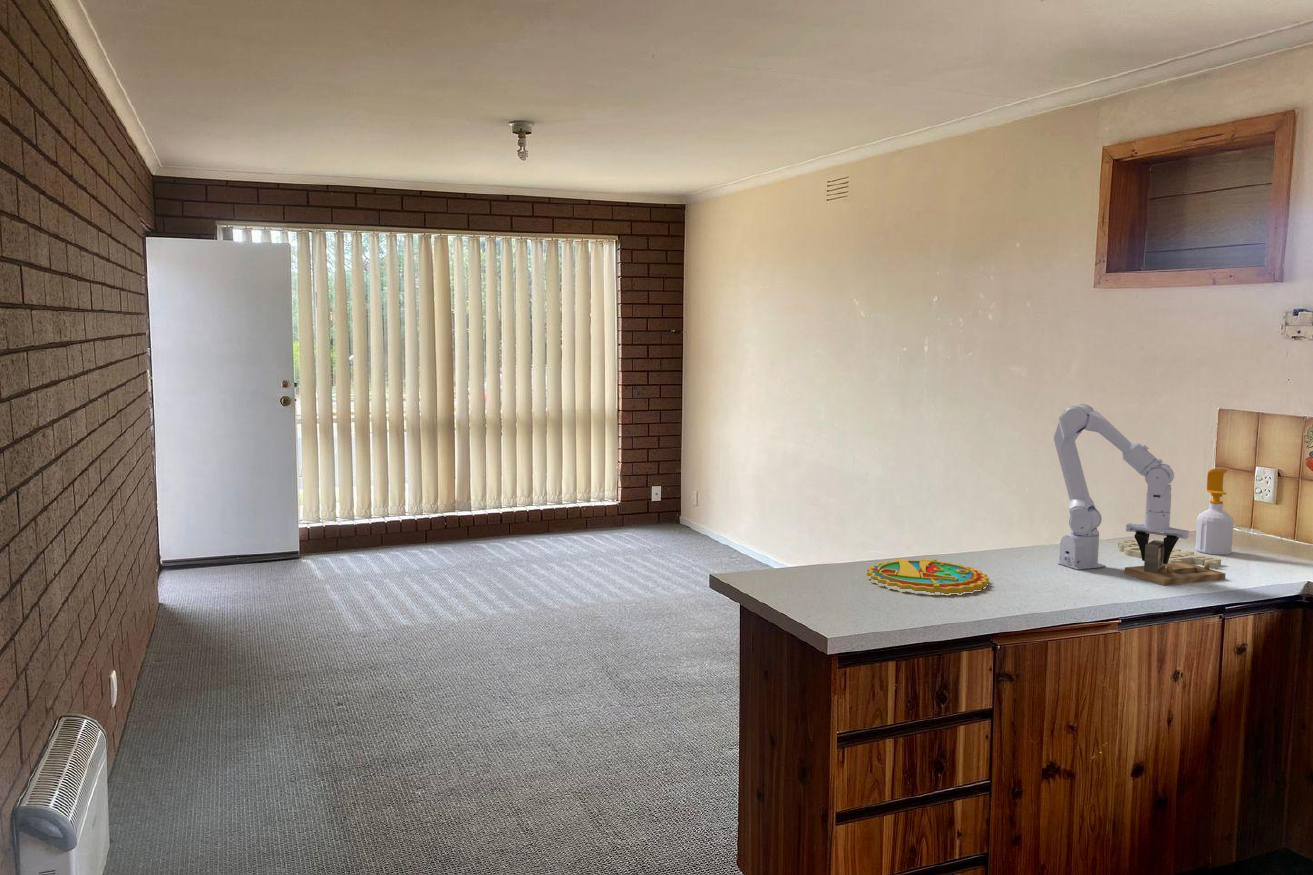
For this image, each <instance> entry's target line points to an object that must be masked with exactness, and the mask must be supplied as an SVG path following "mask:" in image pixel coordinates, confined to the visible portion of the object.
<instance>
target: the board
mask: <svg viewBox="0 0 1313 875" xmlns="http://www.w3.org/2000/svg"><path fill="white" fill-rule="evenodd" d="M1123 570H1124V574H1125V575H1129V576H1132V577H1135V578H1138V579H1141V580H1144V581H1148V582H1151V583H1154V584H1158V585H1159V586H1160V585H1161V586H1170V585H1171V586H1172V585H1184V584H1193V583H1194V584H1195V583H1203V582H1211V581H1212V582H1213V581H1214V582H1215V581H1223V580H1226V572H1221V571H1218V570H1216V569H1212V568H1210V564H1209V563H1204V565H1203V566H1201V565H1197V564H1193V563H1186V562H1179V563H1168V564H1165V568H1164V569H1162V570H1160V571H1159V572H1157V573H1153V572H1147V571H1144V565H1137V566H1135V565H1134V566H1127V567H1124V569H1123Z"/></svg>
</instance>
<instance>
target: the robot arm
mask: <svg viewBox="0 0 1313 875" xmlns="http://www.w3.org/2000/svg"><path fill="white" fill-rule="evenodd" d="M1083 431H1089V432H1094V433H1098V434H1099V435H1101V437H1103V438H1104V439H1105V440H1107V441H1108V442H1109V443H1111V444H1112V445H1113V446H1114V447H1115V448H1117V449H1118V450H1119V451H1121V453H1122V460H1123V461H1125V462H1126V463H1127V464H1128V465H1129V466H1130V467H1131V468H1133V469H1134V470H1135V471H1136V472H1137V473H1138V474H1139V475H1140V476H1142V477H1144V480H1145V483H1146V484H1147V489H1146V490H1147V492H1146V497H1145V500H1146V501H1145V514H1144V515H1145V519H1144V523H1130V522H1129V523H1126V524H1125V531H1126V532H1129V533H1131V532H1132V533H1133V532H1134V533H1135V534H1134V535H1133V536H1134V539H1135V541H1137V543H1138V545H1139V548H1140V551H1141V556H1142V559H1141V561H1143V562H1144V561H1145V545H1146V544H1148V543H1149V540H1150V539H1149V538H1150V535H1157V536H1164V537H1163V541H1164V557H1163V564H1167V563H1168V561H1169V557H1170V554H1171V552H1172V550H1173V549H1174V547H1175V546H1176V544H1177V543H1178V540H1179V539H1184V540H1187V539H1188V538H1189V532H1190V531H1189V530H1186V529H1180V528H1176V527H1170V522H1171V507H1172V506H1171V505H1172V484H1171V483H1173V481H1174V478H1175V473H1174V471H1173V469H1172V467H1171V466H1170V465H1169V464H1167V463H1163V462H1164V461H1163V460H1162V459H1161V458H1159V459H1158V458H1157V457H1156V456H1155V455H1154V454H1152V453H1151V452H1150V451H1149V447H1148V446H1147V445H1146V444H1144V445H1142V444H1141V443H1132V442H1131V441H1130V440H1129V439H1128V438H1127V437H1126V436H1125V435H1124V434H1122V432H1121V431H1119V430H1118V429H1117V428H1116V427H1115V426H1114V424H1112V422H1110V421H1109V420H1108V419H1107V418H1106V417H1104V416H1103V414H1101V413H1100V412H1098V411H1097V410H1094V408H1093V407H1092V406H1090V405H1089V404H1085V403H1081V404H1080V403H1079V404H1077V405H1072V406H1069V407H1067V408H1066V409H1065V410H1064V411H1063V412H1062V413H1061V414H1060V416H1058V423H1057V426H1056V430H1055V433H1054V435H1053V441H1054V445H1055V450H1056V452H1057V453H1056V454H1057V456H1058V461H1059V464H1060V468H1061V472H1062V475H1063V479H1064V483H1065V487H1066V490H1067V495H1068V498H1069V505H1068V506H1069V507H1068V511H1069V518H1068V519H1069V520H1068V524H1069V528H1070V532H1069V533H1068V534H1065V535H1063V536H1062V537H1061V539H1060V543H1059V544H1060V545H1059V561H1057V564H1058V565H1062V566H1065V567H1069V568H1071V569H1075V570H1086V569H1087V570H1088V569H1099V568H1106V565H1105V564H1102V563H1099V549H1100V548H1099V545H1100V531H1099V530H1098V527H1099V526H1101V523H1102V519H1103V518H1102V515H1101V513H1100V511H1099V510H1098V509H1097V508H1096V506H1095V501H1093V499H1092V497H1091V496H1090V493H1089V488H1088V485H1087V482H1086V478H1085V473H1084V470H1083V466H1082V463H1081V460H1080V456H1079V451H1078V448H1077V444H1076V440H1077V438H1078V437H1079V436H1080V434H1081V433H1082V432H1083Z"/></svg>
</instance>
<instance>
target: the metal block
mask: <svg viewBox="0 0 1313 875" xmlns="http://www.w3.org/2000/svg"><path fill="white" fill-rule="evenodd" d="M1163 557H1164V540H1157V539H1154V540H1151V541H1150V542H1148V544H1146V545H1145V561H1143V562H1144V563H1143V566H1144V571H1147V572H1153V573H1157V572H1159V571H1160V570H1162V569H1164V568H1165V564H1163Z"/></svg>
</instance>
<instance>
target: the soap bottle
mask: <svg viewBox="0 0 1313 875" xmlns="http://www.w3.org/2000/svg"><path fill="white" fill-rule="evenodd" d="M1227 472H1228V469H1225V468H1211V469H1209V470H1208V472H1207V477H1206V492H1208V493H1209V494H1211V495H1210V496H1211V497H1212V500H1209V505H1208V509H1206V510H1203V511H1202V512H1200V513H1199V514H1198V516H1197V518H1196V529H1195V530H1196V531H1195V532H1196V533H1195V548H1194V549H1195V550H1196V551H1197V552H1198V553H1202V554H1207V555H1212V556H1213V555H1215V556H1227V555H1230V554H1231V553H1232V549H1233V547H1232V546H1233V535H1234V534H1233V532H1234V531H1233V530H1234V519H1233V516H1231V514H1230V513H1228V512H1227V511H1225V510H1224V508H1223V506H1224V504H1223V503H1224V502H1223V501H1221V500H1220V499H1221V498H1222V497H1223V495H1227V492H1225V491H1224V489H1223V488H1224V476H1225V475H1224V474H1225V473H1227Z"/></svg>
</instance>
